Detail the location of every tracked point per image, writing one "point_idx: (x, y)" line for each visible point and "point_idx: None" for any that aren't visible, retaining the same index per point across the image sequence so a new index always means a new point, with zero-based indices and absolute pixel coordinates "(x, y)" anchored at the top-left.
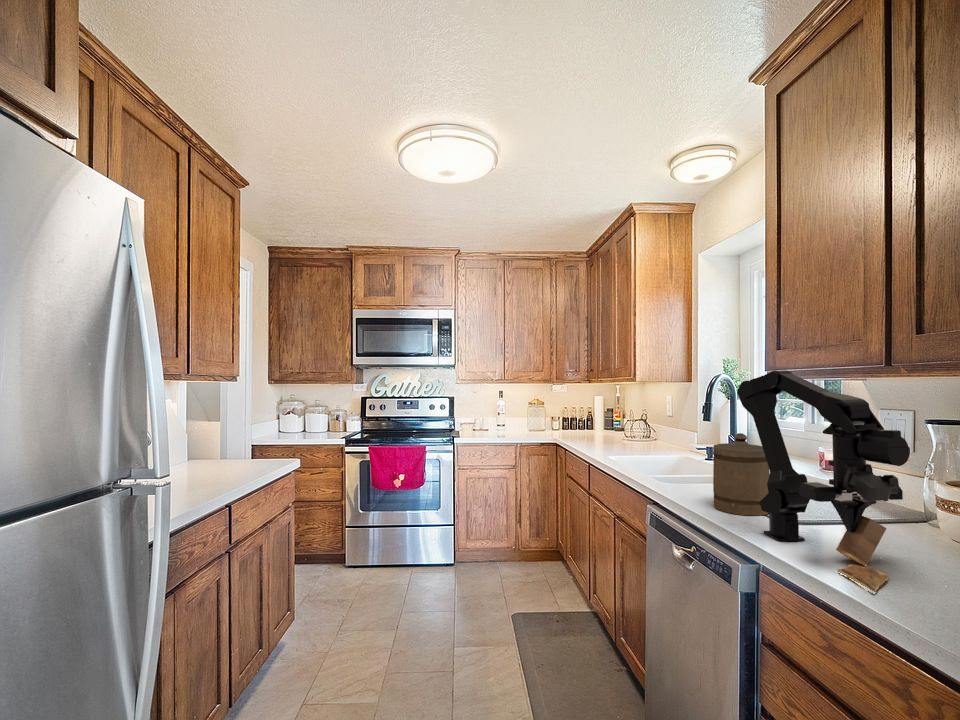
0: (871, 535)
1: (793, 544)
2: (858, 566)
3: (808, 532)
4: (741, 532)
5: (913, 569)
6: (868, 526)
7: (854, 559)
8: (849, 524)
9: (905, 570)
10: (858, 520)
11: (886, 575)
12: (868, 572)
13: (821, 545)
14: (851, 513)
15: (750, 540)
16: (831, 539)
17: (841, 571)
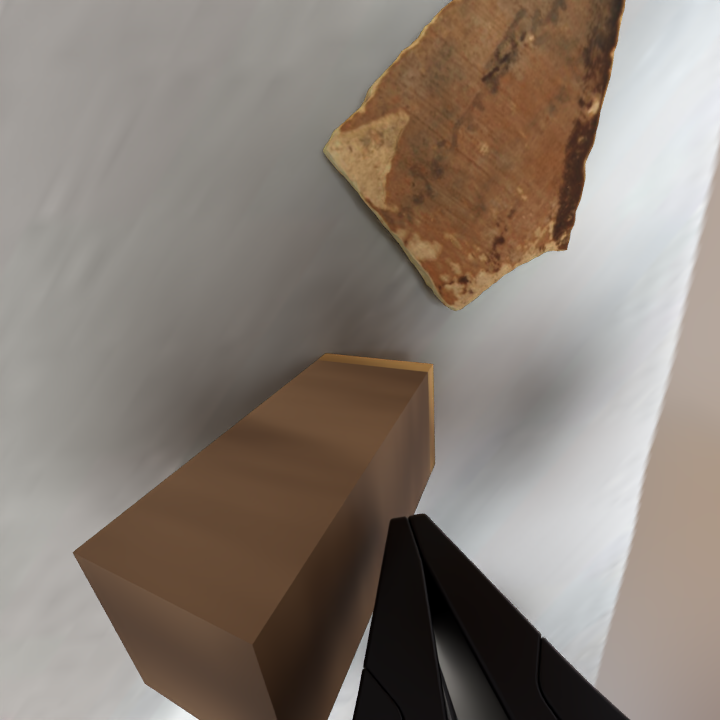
0: (271, 473)
1: None
2: (445, 263)
3: None
4: (576, 669)
5: (70, 320)
6: (295, 541)
7: (400, 361)
8: (476, 568)
9: (130, 303)
10: (386, 624)
11: (358, 121)
12: (456, 158)
13: None
14: (552, 717)
15: (610, 604)
16: None
17: (573, 216)
